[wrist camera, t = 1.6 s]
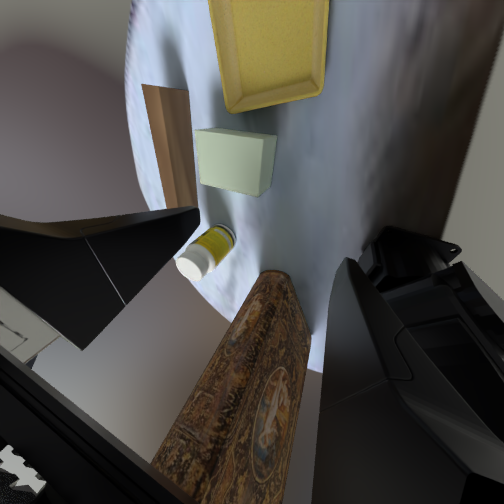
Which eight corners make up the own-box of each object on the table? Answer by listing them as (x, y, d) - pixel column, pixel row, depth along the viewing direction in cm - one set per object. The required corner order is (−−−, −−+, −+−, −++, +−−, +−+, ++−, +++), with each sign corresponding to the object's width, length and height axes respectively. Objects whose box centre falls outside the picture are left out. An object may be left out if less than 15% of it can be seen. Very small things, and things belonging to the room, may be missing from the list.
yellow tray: (236, 115, 19) (226, 115, 17) (216, -25, 14) (199, -42, 12) (326, 97, 15) (323, 95, 14) (340, -100, 10) (338, -137, 9)
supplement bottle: (216, 217, 27) (176, 247, 21) (241, 236, 27) (209, 271, 21) (207, 237, 30) (170, 268, 24) (229, 254, 30) (198, 289, 24)
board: (188, 90, 19) (158, 86, 16) (198, 211, 28) (180, 223, 25) (173, 88, 19) (141, 83, 16) (187, 207, 28) (168, 218, 25)
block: (277, 135, 18) (263, 139, 15) (271, 186, 21) (258, 197, 18) (217, 127, 20) (194, 129, 17) (219, 174, 23) (200, 183, 20)
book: (256, 270, 30) (108, 510, 12) (286, 269, 27) (152, 585, 9) (285, 333, 37) (220, 544, 19) (312, 337, 34) (266, 593, 16)
